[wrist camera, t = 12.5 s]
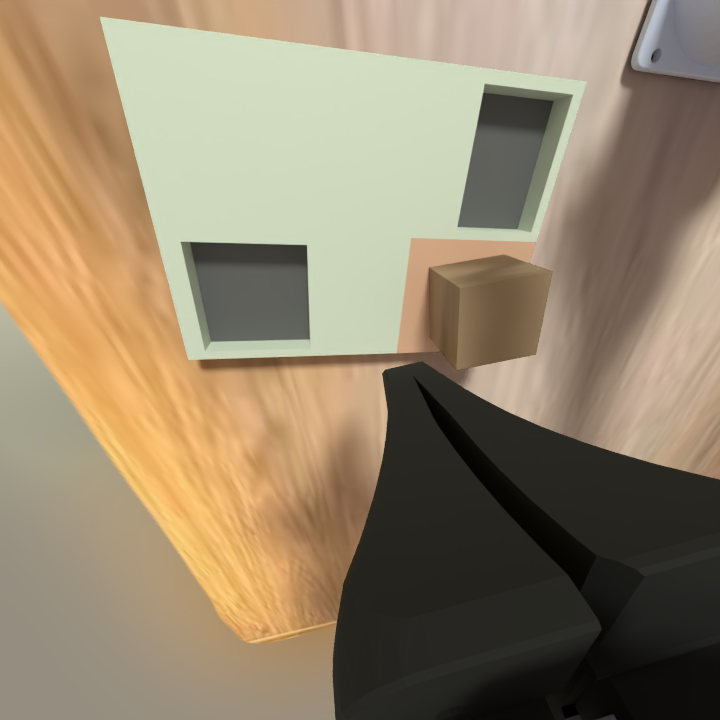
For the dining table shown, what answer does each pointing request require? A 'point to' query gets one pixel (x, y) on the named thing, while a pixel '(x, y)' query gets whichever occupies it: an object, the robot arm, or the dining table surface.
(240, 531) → the dining table surface
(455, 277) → the block
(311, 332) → the board
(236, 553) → the dining table surface
